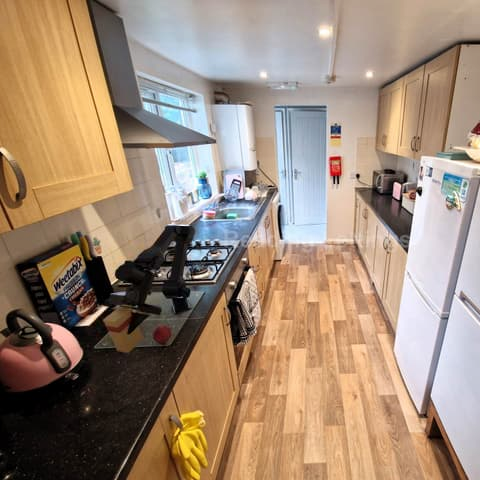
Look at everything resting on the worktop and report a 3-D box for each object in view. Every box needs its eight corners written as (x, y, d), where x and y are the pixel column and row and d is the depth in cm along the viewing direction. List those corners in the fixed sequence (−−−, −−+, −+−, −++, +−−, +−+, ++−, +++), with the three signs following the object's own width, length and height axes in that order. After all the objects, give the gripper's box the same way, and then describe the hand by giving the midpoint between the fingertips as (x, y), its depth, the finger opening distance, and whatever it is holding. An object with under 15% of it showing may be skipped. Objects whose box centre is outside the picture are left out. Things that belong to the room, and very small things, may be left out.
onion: (165, 349, 95) (160, 331, 92) (151, 346, 96) (146, 329, 93) (176, 338, 101) (172, 321, 98) (163, 335, 102) (158, 319, 99)
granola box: (116, 351, 89) (102, 320, 82) (132, 336, 94) (120, 305, 88) (128, 353, 88) (114, 322, 82) (143, 338, 94) (132, 308, 87)
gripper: (98, 278, 88) (76, 327, 82) (146, 284, 84) (125, 336, 78) (126, 286, 98) (107, 329, 92) (169, 291, 94) (153, 337, 88)
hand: (122, 333), depth 87 cm, fingers closed on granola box, 4 cm apart
